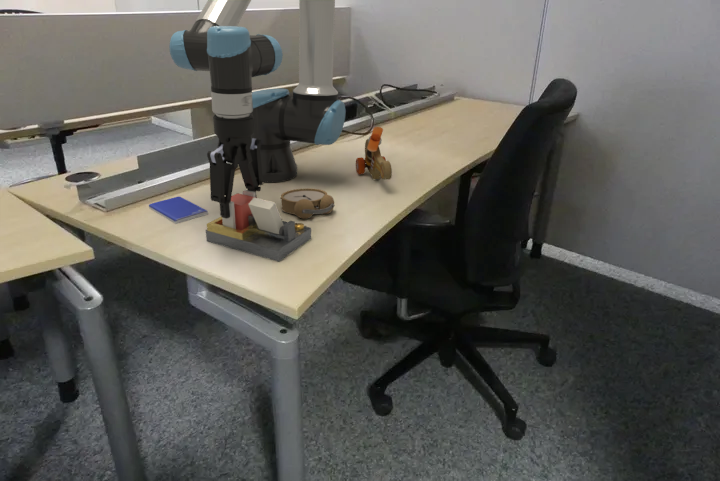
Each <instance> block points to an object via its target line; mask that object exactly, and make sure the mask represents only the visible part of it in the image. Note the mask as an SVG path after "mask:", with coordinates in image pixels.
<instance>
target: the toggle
mask: <svg viewBox="0 0 720 481" xmlns="http://www.w3.org/2000/svg"><path fill="white" fill-rule="evenodd" d="M248 205H249V207H250V209H251V212H252V214H253V216H254V219H255V221H256V223H257V229H258V230H261V231H265V232H269V233H272V234H276V235H280V236H284V225H283V222H282V221H283V218H282V217H281V214H280V212H279V210H278V207H277V204H276V202H274V201H271V200H266V199H262V198H258V197H257V198H253V199H252V200H251V202H250V203H249V204H248ZM281 218H282V219H281Z"/></svg>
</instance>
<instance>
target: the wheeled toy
mask: <svg viewBox="0 0 720 481" xmlns="http://www.w3.org/2000/svg"><path fill="white" fill-rule="evenodd" d="M383 131H384V129H383V127H381V126H374V127H373V129H372V131H371V135H370V136H368V138H367V139H365V143H364V157H357V158H356V160H355V170H356V174H357V175H364V174H365V172H366V169H367V171H368V173H369V174H370V175H371V177H372V180H373V179H379V180H380V179H382V180H391V178H392V176H393V175H392V174H393V171H392V170H393V169H392V164H391V162H390V161H389V160H387V159H386V157H385V156H382V153H381V150H380V145H381V144H382V136H383V135H382V133H383Z"/></svg>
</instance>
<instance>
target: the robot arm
mask: <svg viewBox="0 0 720 481" xmlns="http://www.w3.org/2000/svg"><path fill="white" fill-rule="evenodd" d="M251 2H252V0H207V1H206V4H205V5H204V7H203V9H202V10H201V11H200V13H199V15H198V16H197V18H196V20H195V22H194V24H192V27H191V29H190V30H187V29H184V30H177V31H176V32H174V33H173V34H172V35H171V37H170V41H169V54H170V57H171V59H172V60H173V63H174V64H175V65H176V66H177V67H179V68H180V69H185V70H190V71H195V72H198V71H199V72H201V71H202V72H209V76H210V77H209V78H210V94H211V95H210V97H211V98H210V99H211V110H212V113H213V114H214V115H213V119H212V120H213V131H214V135H215V136H217V138H218V142H217V148H216V149H215V150H214V151H213V150H212V151H210V150H209V151H208V152H207V154H206V155H207V156H206V157H207V160H208V163H209V182H210V183H209V186H210V200H211V202H216V203H219V210H220V211H219V214H220V217H222V222H223V226H226V227H230V228H234V229H236V223H235V209H234V202H232V201H231V196H233V187H234V180H235V175H236V170H237V169H238V167H239V171H240V175H241V177H242V178H241V179H242V180H243V183H244V187H245V188H244V189H243V190H242V194H243V195H247V196H251V197H256V198H258V197H257V192H260V191H261V189H262V185H264V183H278V182H279V183H280V182H285V181H289V180H291V179H294V178H296V176H297V175H298V165H297V162H296V160H295V159H296V158H295V157H294V153H293V151H292V148H291V142H299V143H306V144H314V145H317V146H320V145H325V146H331V145H333V144H335V143H336V142H337V141H338V139H339V138H340V136H341V133H342V131H343V129H344V124H345V120H346V112H347V110H346V105H345V103H344V101H343V100H340V99H339V91H338V90H337V89H336V88H335V87H334V85H333V82H334V81H333V78H334V46H335V44H334V43H335V17H336V16H335V15H336V14H335V11H336V8H335V7H336V0H299V6H298V7H299V10H298V11H299V12H298V14H299V15H298V18H299V22H298V24H299V25H298V26H299V27H298V29H299V30H298V31H299V32H298V38H299V40H298V44H299V45H298V46H299V47H298V50H299V51H298V52H299V53H298V54H299V55H298V84H297V86H296V87H295V88H293V89H292V95H290V91H289V89H288V88H283V87H282V88H278V87H277V88H267V89H262V90H261V89H260V90H255V91H253V81H252V80H253V79H252V78H256V77H260V76H267V75H270V74H271V73H273V72H275V71H277V70H278V69H279V68H280V66H281V65H282V62H283V58H284V57H283V56H284V54H283V49H282V46H281V45H280V43H279V42H278V40H277V39H276V38H275V37H273V36H272V35H268V34H259V33H258V34H257V33H256V34H255V35H251V34H250V32H249V30H248V28H247V27H245V26H238V25H239V23H240V22H241V20H242V18H243V16H244V14H245V12H246V11H247V9H248V7H249V5H250V3H251Z"/></svg>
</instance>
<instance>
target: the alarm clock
mask: <svg viewBox="0 0 720 481" xmlns="http://www.w3.org/2000/svg"><path fill="white" fill-rule="evenodd" d="M280 200H281V210H282V211H283V212H284V213H287V214H291V215H295V216H297V218H299V219H303V220H307V219H309V218H311V217H312V216H313V215H319V214H320V215H321V214H322V215H328V214H330V213H332V212H333V210H334V207H335V206H336V205H335V200H334V198H333V196H332V195H330V194H328V192H327V191H325V190H322V189H319V188H310V187H307V188H296V189H290V190H287V191H285V192H283V193H281V195H280Z"/></svg>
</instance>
